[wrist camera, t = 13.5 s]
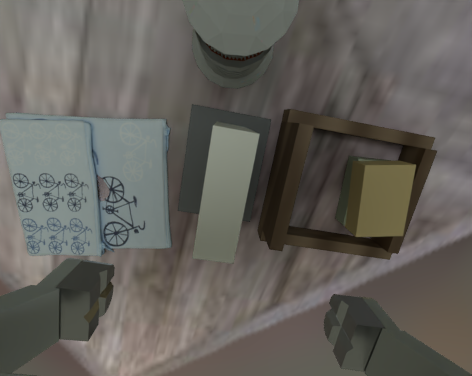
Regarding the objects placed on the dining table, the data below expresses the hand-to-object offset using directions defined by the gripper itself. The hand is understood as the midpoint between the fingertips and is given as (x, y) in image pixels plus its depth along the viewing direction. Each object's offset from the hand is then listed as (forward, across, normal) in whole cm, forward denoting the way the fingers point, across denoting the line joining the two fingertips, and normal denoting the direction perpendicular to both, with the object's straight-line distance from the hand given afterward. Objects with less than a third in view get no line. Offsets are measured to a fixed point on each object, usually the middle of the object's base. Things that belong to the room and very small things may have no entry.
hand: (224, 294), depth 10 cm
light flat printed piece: (+27, +16, +6) cm, 32 cm away
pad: (+26, 0, 0) cm, 26 cm away
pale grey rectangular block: (+25, 0, 0) cm, 25 cm away
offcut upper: (+24, -19, 0) cm, 30 cm away
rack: (+26, -16, 0) cm, 30 cm away
